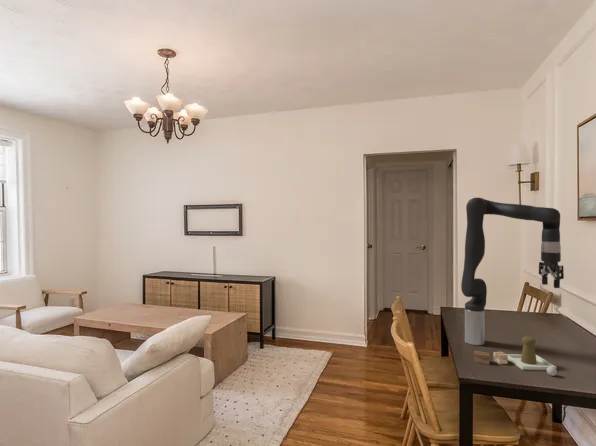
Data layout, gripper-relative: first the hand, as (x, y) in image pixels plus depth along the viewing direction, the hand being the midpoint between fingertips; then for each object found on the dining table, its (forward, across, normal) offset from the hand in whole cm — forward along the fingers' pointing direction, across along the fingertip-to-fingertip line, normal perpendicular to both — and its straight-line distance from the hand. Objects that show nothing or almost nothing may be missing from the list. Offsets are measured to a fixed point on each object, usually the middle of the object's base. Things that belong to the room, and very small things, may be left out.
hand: (550, 286), depth 171 cm
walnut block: (+33, +6, -34) cm, 48 cm away
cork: (+33, +7, -14) cm, 36 cm away
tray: (+33, +8, -14) cm, 37 cm away
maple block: (+33, +6, -26) cm, 43 cm away
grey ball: (+31, +20, -12) cm, 39 cm away
